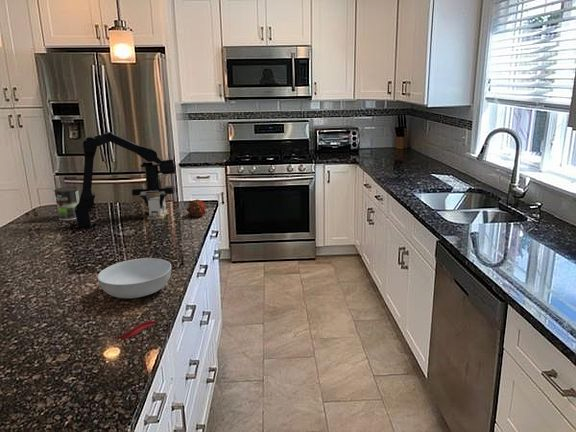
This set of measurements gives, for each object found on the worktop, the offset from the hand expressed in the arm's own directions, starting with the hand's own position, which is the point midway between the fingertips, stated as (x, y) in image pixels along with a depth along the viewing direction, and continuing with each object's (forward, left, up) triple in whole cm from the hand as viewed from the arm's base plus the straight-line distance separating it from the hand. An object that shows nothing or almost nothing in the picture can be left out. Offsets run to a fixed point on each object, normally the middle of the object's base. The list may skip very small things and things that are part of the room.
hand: (155, 208), depth 220 cm
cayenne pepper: (-109, -16, -5) cm, 110 cm away
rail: (+4, 0, -4) cm, 6 cm away
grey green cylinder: (+8, +42, -4) cm, 43 cm away
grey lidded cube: (0, 0, -2) cm, 2 cm away
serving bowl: (-84, -10, -5) cm, 85 cm away
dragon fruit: (0, -19, -4) cm, 20 cm away
